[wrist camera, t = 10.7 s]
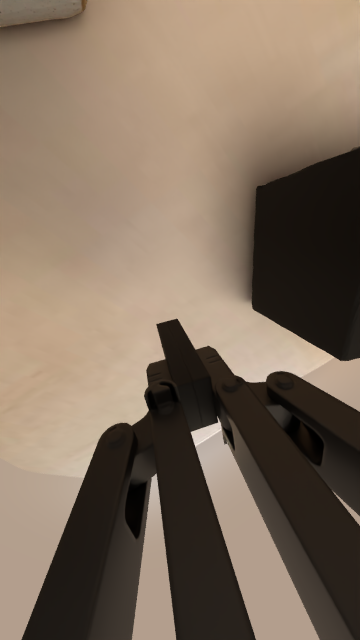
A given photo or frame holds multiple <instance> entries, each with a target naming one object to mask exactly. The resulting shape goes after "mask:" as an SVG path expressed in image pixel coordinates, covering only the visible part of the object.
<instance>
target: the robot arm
mask: <svg viewBox="0 0 360 640" xmlns="http://www.w3.org/2000/svg"><path fill="white" fill-rule="evenodd" d="M156 325H157V329H158V332H159V336H160V340H161V344H162V347H163V351H164V355H165V360H161V361H158V362H154V363H151V364H149V366H148V368H147V370H146V371H147V379H148V388H147V389H146V391H145V394H144V397H145V400H146V403H147V406H148V409H149V411H148V413H147V414H146V415H145V417H144V418H142V419H141V420H140V421H138V422H137V423H135V424H134V425H132V426H131V425H129V424H128V423H119V424H115V425H113V426H111V427H110V428H108V429H107V430H106V431H105V432H104V433H103V434H102V436H101V438H100V439H99V441H98V444H97V447H96V449H95V452H94V454H93V457H92V459H91V462H90V465H89V467H88V470H87V472H86V475H85V478H84V480H83V483H82V485H81V488H80V491H79V493H78V496H77V498H76V501H75V504H74V506H73V508H72V511H71V514H70V517H69V519H68V521H67V524H66V527H65V529H64V532H63V534H62V537H61V540H60V542H59V545H58V547H57V550H56V553H55V555H54V557H53V560H52V563H51V565H50V568H49V570H48V573H47V575H46V578H45V581H44V583H43V586H42V588H41V591H40V594H39V596H38V599H37V601H36V604H35V607H34V609H33V612H32V614H31V617H30V619H29V622H28V624H27V627H26V630H25V632H24V635H23V637H22V640H132V633H133V625H134V617H135V609H136V600H137V593H138V585H139V576H140V568H141V560H142V552H143V543H144V535H145V528H146V520H147V512H148V504H149V503H148V502H149V495H150V487H151V477H153V476H154V475H155V474H157V480H158V488H159V496H160V505H161V514H162V521H163V530H164V539H165V547H166V555H167V564H168V573H169V581H170V590H171V598H172V607H173V615H174V623H175V631H176V640H256V639H255V635H254V632H253V629H252V626H251V623H250V620H249V616H248V613H247V610H246V607H245V604H244V601H243V597H242V594H241V591H240V588H239V585H238V581H237V578H236V576H235V572H234V569H233V566H232V562H231V559H230V556H229V553H228V550H227V546H226V544H225V540H224V537H223V534H222V531H221V527H220V524H219V521H218V518H217V515H216V511H215V509H214V505H213V502H212V499H211V496H210V492H209V489H208V486H207V483H206V480H205V476H204V473H203V470H202V467H201V464H200V461H199V458H198V454H197V451H196V448H195V445H194V442H193V438H192V435H191V432H192V431H194V430H197V429H200V428H203V427H206V426H209V425H212V424H215V423H218V418H219V420H220V422H221V427H222V433H223V439H224V443H225V444H227V442H228V445H229V447H230V449H231V451H232V453H233V456H234V458H235V460H236V462H237V464H238V466H239V468H240V470H241V473H242V475H243V477H244V479H245V481H246V483H247V485H248V488H249V490H250V492H251V494H252V496H253V498H254V500H255V502H256V505H257V507H258V509H259V511H260V513H261V515H262V517H263V520H264V522H265V524H266V526H267V528H268V530H269V532H270V534H271V537H272V539H273V541H274V543H275V545H276V547H277V549H278V551H279V553H280V555H281V558H282V560H283V562H284V564H285V566H286V568H287V571H288V573H289V575H290V577H291V579H292V581H293V583H294V585H295V588H296V590H297V592H298V594H299V596H300V598H301V600H302V603H303V605H304V607H305V609H306V611H307V613H308V615H309V617H310V620H311V622H312V624H313V626H314V628H315V630H316V632H317V634H318V636H319V639H320V640H360V526H359V524H358V523H357V522H356V521H355V519H354V518H353V517H352V516H351V514H350V513H349V512H348V511H347V509H346V508H345V507H344V506H343V504H342V503H341V502H340V500H339V499H338V498H337V497H336V495H335V494H334V493H333V492H335V493H336V494H337V495H338V496H339V497H340V498H341V499H342V500H343V501H344V502H345V503H346V504H347V505H349V506H350V507H351V508H352V509H353V510H354V511H355V512H356V513H357V514H358V515H359V516H360V412H359V411H357V410H356V409H354V408H352V407H350V406H348V405H347V404H345V403H343V402H342V401H340V400H338V399H336V398H335V397H333V396H331V395H329V394H328V393H326V392H324V391H322V390H321V389H319V388H317V387H315V386H314V385H312V384H310V383H308V382H306V381H305V380H303V379H301V378H300V377H298V376H296V375H294V374H292V373H289V372H284V371H279V372H274V373H271V374H270V375H269V376H267V379H266V382H257V383H250V382H246V381H245V380H244V379H242V378H241V377H239V376H236V375H234V374H233V372H232V371H231V370H230V368H229V367H228V366H227V364H226V363H225V362H224V360H222V358H221V356H219V354H218V352H217V351H216V350H215V349H213V348H211V347H210V346H207V347H203V348H200V349H197V350H195V348H194V347H193V345H192V343H191V341H190V340H189V338H188V336H187V334H186V333H185V331H184V329H183V328H182V326H181V324H180V322H179V321H178V319H174V320H170V321H167V322H163V323H159V324H156ZM217 416H218V418H217Z"/></svg>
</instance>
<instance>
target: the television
mask: <svg viewBox="0 0 360 640" xmlns="http://www.w3.org/2000/svg"><path fill="white" fill-rule="evenodd" d="M252 305H253V306H252V307H253V309H254V310H255V311H257V312H258V313H260V314H262V315H264V316H265V317H267V318H269V319H271V320H272V321H274V322H275V323H277V324H279V325H280V326H282V327H284V328H286V329H288V330H289V331H291V332H293V333H295V334H296V335H298V336H299V337H301V338H303V339H304V340H306V341H308V342H309V343H311V344H313V345H315V346H316V347H318V348H320V349H322V350H324V351H326V352H327V353H329V354H330V355H332V356H334V357H335V358H337V359H339V360H340V361H349V360H353V359H356V358H360V146H359V147H356V148H353V149H352V150H351V151H350V152H347V153H344V154H342V155H339V156H336V157H333V158H330V159H327V160H324V161H321V162H319V163H316V164H314V165H311V166H309V167H306V168H304V169H302V170H300V171H298V172H296V173H294V174H291V175H289V176H287V177H283V178H280V179H277V180H275V181H272V182H269V183H267V184H265V185H262V186H258V187H257V189H256V213H255V229H254V253H253V279H252Z"/></svg>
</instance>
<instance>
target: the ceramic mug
mask: <svg viewBox="0 0 360 640" xmlns="http://www.w3.org/2000/svg"><path fill="white" fill-rule="evenodd" d="M86 3H87V0H0V27H5V26H11V25H18V24H25V23H32V22H39V21H45V20H52V19H63V18H70V17H73V16H75V15H77V14H79V13H81V12H82V11H84V9H85V7H86Z"/></svg>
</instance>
